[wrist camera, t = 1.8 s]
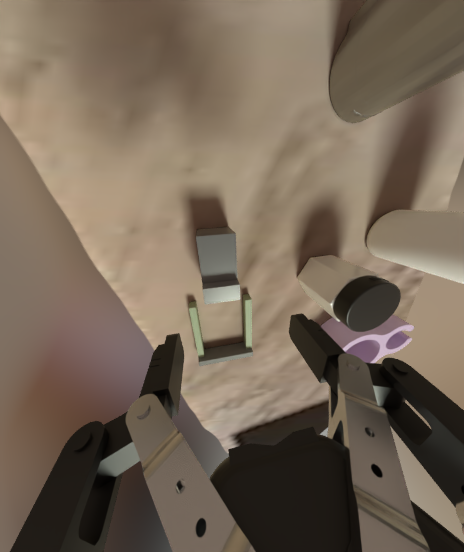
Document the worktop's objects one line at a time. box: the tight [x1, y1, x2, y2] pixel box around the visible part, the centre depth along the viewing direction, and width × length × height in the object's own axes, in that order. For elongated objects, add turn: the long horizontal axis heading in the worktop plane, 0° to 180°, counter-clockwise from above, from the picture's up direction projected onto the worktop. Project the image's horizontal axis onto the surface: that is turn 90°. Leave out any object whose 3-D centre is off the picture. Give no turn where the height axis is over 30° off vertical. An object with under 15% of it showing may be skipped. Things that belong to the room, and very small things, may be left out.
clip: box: [321, 314, 414, 363], centre depth 39 cm, size 20×12×7 cm, turn 111°
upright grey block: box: [196, 227, 240, 304], centre depth 24 cm, size 9×5×8 cm, turn 3°
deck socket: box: [189, 294, 253, 366], centre depth 33 cm, size 14×11×3 cm
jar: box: [297, 255, 401, 332], centre depth 27 cm, size 9×8×12 cm
